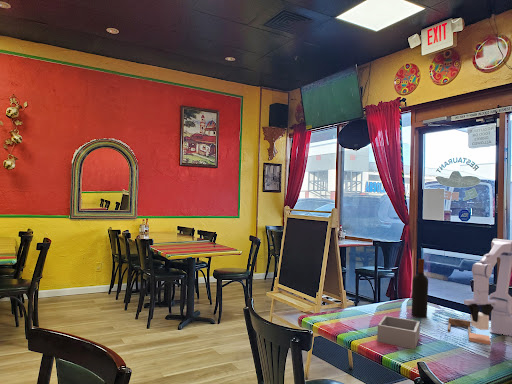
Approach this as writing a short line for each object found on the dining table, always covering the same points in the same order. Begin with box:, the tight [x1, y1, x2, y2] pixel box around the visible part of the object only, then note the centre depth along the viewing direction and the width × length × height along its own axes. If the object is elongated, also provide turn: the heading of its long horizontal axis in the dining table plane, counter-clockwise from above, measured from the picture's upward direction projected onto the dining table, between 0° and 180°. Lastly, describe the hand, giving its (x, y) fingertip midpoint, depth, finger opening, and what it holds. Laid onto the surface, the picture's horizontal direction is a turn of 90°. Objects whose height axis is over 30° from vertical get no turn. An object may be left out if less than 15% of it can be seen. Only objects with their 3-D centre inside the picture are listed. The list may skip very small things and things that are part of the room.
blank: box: [470, 311, 490, 331], centre depth 175 cm, size 4×6×6 cm, turn 7°
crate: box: [376, 315, 421, 350], centre depth 171 cm, size 15×17×7 cm
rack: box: [447, 317, 472, 336], centre depth 190 cm, size 10×14×3 cm
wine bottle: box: [411, 258, 429, 319], centre depth 210 cm, size 8×8×30 cm
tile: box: [468, 332, 491, 345], centre depth 175 cm, size 8×8×2 cm
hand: (479, 321), depth 175 cm, fingers closed on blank, 4 cm apart
